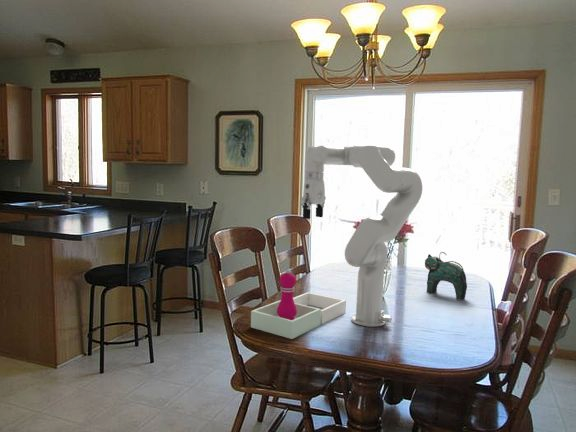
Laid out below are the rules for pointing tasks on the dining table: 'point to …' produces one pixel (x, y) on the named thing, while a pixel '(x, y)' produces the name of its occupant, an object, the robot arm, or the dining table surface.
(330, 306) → the crate
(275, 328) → the bin
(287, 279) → the pepper mill
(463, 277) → the ceramic cat
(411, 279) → the dining table surface
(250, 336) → the dining table surface
